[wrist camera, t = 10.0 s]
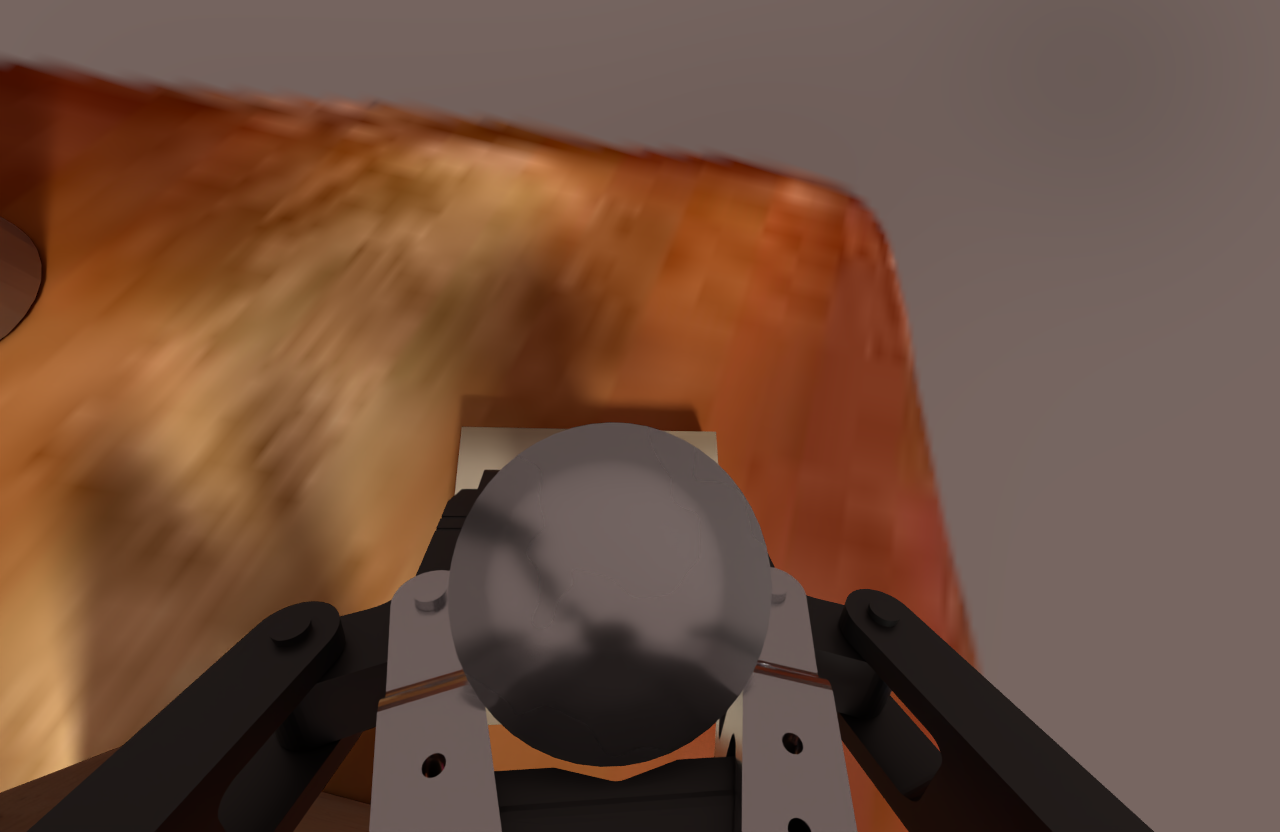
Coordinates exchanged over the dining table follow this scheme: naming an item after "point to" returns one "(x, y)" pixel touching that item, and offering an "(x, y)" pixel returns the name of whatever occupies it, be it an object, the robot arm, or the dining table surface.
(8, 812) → the wooden block
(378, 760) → the robot arm
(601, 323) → the dining table surface
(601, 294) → the dining table surface
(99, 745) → the dining table surface
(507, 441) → the rest block
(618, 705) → the axle
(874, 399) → the dining table surface
